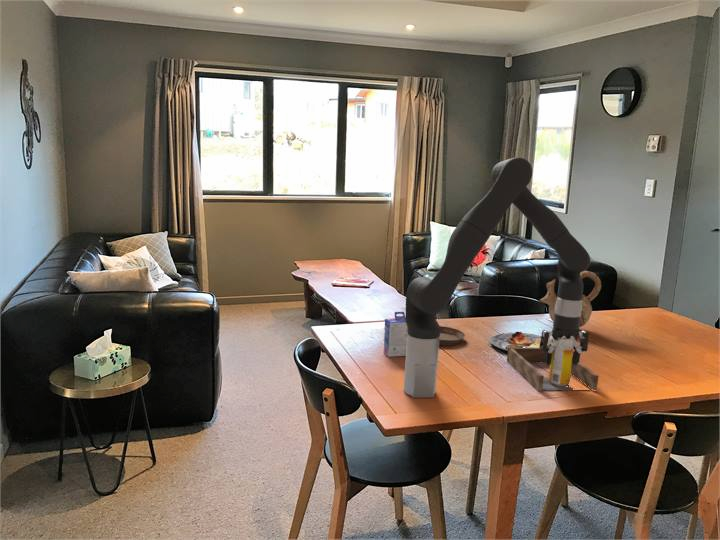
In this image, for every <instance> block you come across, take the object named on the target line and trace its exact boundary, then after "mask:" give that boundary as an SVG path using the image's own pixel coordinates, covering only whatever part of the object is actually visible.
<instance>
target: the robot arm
mask: <svg viewBox="0 0 720 540" xmlns="http://www.w3.org/2000/svg"><path fill="white" fill-rule="evenodd" d="M532 176H533V167H532V165H531V163H530V162H529V160H527V159H526V158H523V157H518V156H517V157H512V158H508V159H505V160H502V161H500V162H497V163H496V164H495V165H494V166H493V168H492V170H491V172H490V178H491V182H492V184H493V185H492V186H491V188H490V189H489V191H488V192H487V193H486V195H485V196H484V197H483V198H482V199H481V200H479V201H478V202H477V203H476V204H475V205H474V206H473V207H471V209H469V211H468V212H467V213H466V214H465V215H464V216H463V218H462V219H460V221H459V223H458V224H457V226H456V227H455V228H454V230H453V231H452V233H451V234H450V238H449V240H448V244H447V249H446V254H445V258H444V262H443V263H442V265H441V267H440V268H439V270H438V271H437V272H436V274H435V276H433V278H432V279H431V278H428V277H426V276H418V277H416V278H414V279H413V280H411V282H409V285H408V287H407V289H406V295H405V318H406V324H407V328H408V331H407V345H406V356H405V362H404V363H405V364H404V376H403V377H404V378H403V379H404V380H403V392H404V393H405V394H407V395H409V396H411V397H412V399H413V398H415V399H416V398H424V399H425V398H434V397H435V394H436V393H437V392H436V390H437V378H438V377H437V376H438V366H439V365H438V363H439V354H440V353H439V350H440V345H439V341H440V326H441V325H440V324H439V321H437V319H436V315H437V314H439V313H441V312H442V311H443V310H444V309H445V308H446V307H447V305H448V304H449V302H450V300H451V298H452V297H453V295H454V293H455V291H456V289H457V287H458V285H459V284H460V282H461V280H462V278H463V277H464V276H465V274H466V272H467V270H468V269H469V268H470V266H471V264H472V263H473V262H474V260H475V259H476V257H477V256H478V254H479V253H480V252H481V250H482V249H483V247H484V246H485V244H486V243H487V242H488V240H489V238H490V237H491V236H492V234H493V233H494V231H495V229H496V228H497V226H498V225H499V224H500V222H501V220H502V219H503V217H504V215H505V214H506V212H507V211H508V210H509V208H510V207H511V206H512V204H513V205H514V206H515V208H517V209H518V210H519V212H520V213H522V215H524V217H525V218H526V219H527V220H528V221H529V222H530V224H531V225H532V226H533V227H534V228H535V230H536V231H537V233H538V234H539V235H540V237H541V238H542V239H543V240H544V241H545V243H546V244H547V245H548V246H549V247H550V248H551V249H552V250H554V251H555V252H556V254H557V255H558V260H557V271H558V281H559V282H558V287H557V289H558V290H557V294H556V297H557V300H556V304H555V312H554V321H552V322H553V323H552V330H551V331H549V330H546V329H542V331H541V335H540V336H541V341H540V346H539V347H540V349H542V350H543V351H545V358H544V360H545V362H546V363H545V364H547V365H548V366H550V365H551V359H552V351H553V350H554V349H555V348H557V347H558V342H559V340H562V339H566V338H569V339H572V340H573V341H574V346H573V355H572V363H573V364H574V365H577V364H578V363H579V362H580V358H581V353H583V352H587V351H588V348H589V347H588V346H589V335H590V334H589V333H588V332H587V331H585V330H583V329H582V330H581V331H579V329H580V328H581V327H580V319H581V311H582V296H583V295H584V282H583V279H582V280H581V277H580V273H581V272H583V271H587V270H588V268H589V267H590V266H591V255H590V254H589V252H588V251H587V249H586V248H585V247H584V246H583V245H582V244H581V242H580V241H578V240H577V239H576V238H575V237H574V236H573V234H572V233H571V232H570V231H569V229H568V228H567V226H566V225H565V224H564V223H563V221H562V220H561V218H559V217H560V216H558V215H557V214H556V213H555V212H554V210H552V209H551V208H550V207H548V206H547V205H546V204H544V203H543V202H542V201H541V200H540V199H538V198H537V197H536V196H535V195H534V194H533V193H532V192H531V191H530V189H529V188H528V185H529V184H530V182H531V180H532ZM558 338H560V339H559V340H558ZM578 338H580V341H579V343H578V342H577V339H578ZM548 339H551V340H550V341H549V344H548ZM553 339H555V340H557V341H556V343H553ZM547 344H548V345H547Z"/></svg>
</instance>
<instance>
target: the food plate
mask: <svg viewBox="0 0 720 540" xmlns="http://www.w3.org/2000/svg"><path fill="white" fill-rule="evenodd" d="M551 339H552V338H549V339H548V344H549V341H550V340H551ZM540 341H541V335H537V334H534V333H533V334H532V333H525V332H522V331H515V332H502V333H499V334H496V335H494V336H492V337H489V339H488V342H489V343H490V344H492V345H493V346H495V347H497V348H498V349H500V350H504V351H505V352H508V347H511V348H523V347H525V348H540V347H539V346H540ZM548 344H547V345H548ZM527 345H530V346H527ZM504 346H505V348H504Z"/></svg>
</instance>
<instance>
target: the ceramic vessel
mask: <svg viewBox="0 0 720 540" xmlns="http://www.w3.org/2000/svg"><path fill="white" fill-rule="evenodd" d="M580 277H581V280H582V281H583V279H584V278H589V279H590V280H591V281H593V283H594V287H593V289H592V291H591V292H590V293H589V294H588V296H586V295H585V294H583V296H582V311H581V319H580V327H579V328H581V327H583V326H585V325H586V324H587V323H588V322H589V321H590V318H591V315H592V312H593V307H592V304H591V301H593V300H594V299H595V298H596V297H597V296H598V295H599V293H600V292H601V289H602V281H601V279H600V278H599V276H598V275H597V274H596V273H594V272H592V271H588V270H585V271H583V272H580ZM555 283H556V278H555V279H553V280H552V281H549V282H546V284H545V287H546V289H547V293H546V295H545V296H544V297H542V298H541V299H539V301H540V302H541V303H544V304H547V305H548V314H549V318H550V319H551V321H552V322H553V321H554V312H555V304H556V300H557V294H556V293H555Z"/></svg>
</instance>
